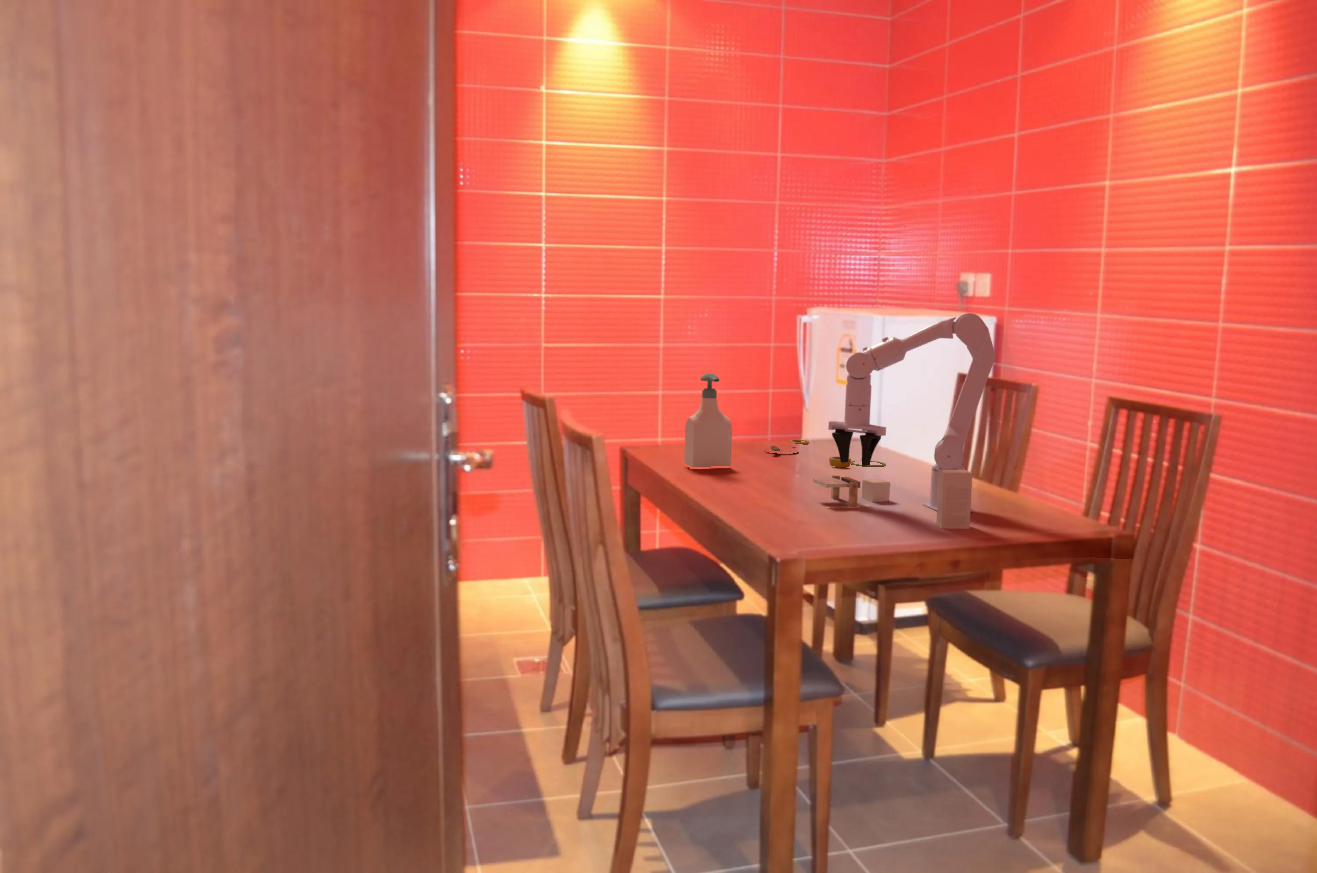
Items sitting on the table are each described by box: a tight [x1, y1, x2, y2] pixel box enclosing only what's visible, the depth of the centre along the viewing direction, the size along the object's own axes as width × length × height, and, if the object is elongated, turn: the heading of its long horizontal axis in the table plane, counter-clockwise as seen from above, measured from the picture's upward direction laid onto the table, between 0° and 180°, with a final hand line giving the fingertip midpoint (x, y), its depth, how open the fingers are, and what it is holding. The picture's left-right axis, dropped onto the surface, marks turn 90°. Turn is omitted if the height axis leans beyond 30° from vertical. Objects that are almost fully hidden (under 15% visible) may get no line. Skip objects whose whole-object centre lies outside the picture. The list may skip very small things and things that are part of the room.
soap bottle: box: [683, 372, 733, 467], centre depth 283 cm, size 11×8×27 cm
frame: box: [824, 474, 873, 510], centre depth 242 cm, size 11×11×6 cm
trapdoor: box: [812, 476, 861, 489], centre depth 241 cm, size 8×8×1 cm
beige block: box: [861, 478, 891, 503], centre depth 246 cm, size 5×5×6 cm
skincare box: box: [936, 469, 973, 530], centre depth 220 cm, size 6×4×12 cm
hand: (854, 463), depth 243 cm, fingers open, 5 cm apart
